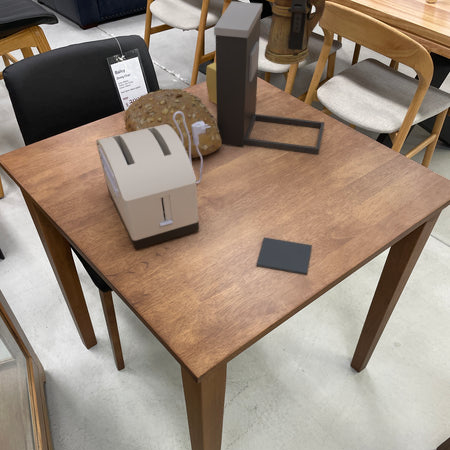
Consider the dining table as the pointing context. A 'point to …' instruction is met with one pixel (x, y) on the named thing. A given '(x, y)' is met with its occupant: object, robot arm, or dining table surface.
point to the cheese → (211, 82)
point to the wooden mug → (281, 32)
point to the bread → (163, 114)
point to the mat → (284, 256)
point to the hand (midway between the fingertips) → (298, 41)
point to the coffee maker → (245, 80)
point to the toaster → (153, 181)
